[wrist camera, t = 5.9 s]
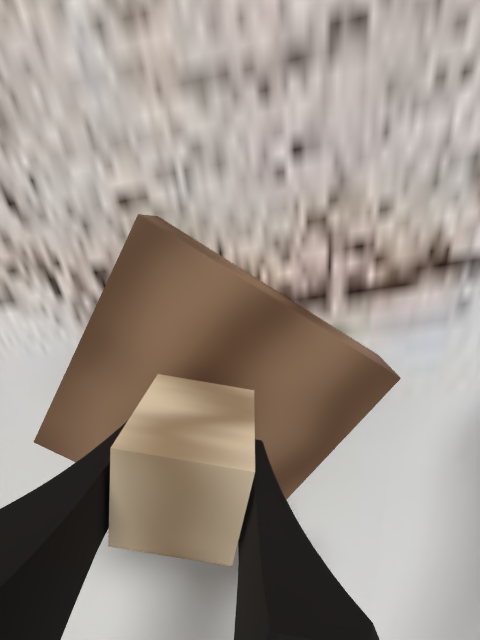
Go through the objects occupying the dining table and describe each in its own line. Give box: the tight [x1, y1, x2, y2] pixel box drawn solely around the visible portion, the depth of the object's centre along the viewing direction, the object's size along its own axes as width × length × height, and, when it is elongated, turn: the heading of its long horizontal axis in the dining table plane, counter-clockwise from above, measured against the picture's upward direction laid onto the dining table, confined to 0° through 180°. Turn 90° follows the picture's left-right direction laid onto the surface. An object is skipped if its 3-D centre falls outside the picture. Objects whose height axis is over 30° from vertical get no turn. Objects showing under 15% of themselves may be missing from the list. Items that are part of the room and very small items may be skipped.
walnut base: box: [34, 214, 401, 499], centre depth 16 cm, size 14×14×2 cm
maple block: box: [108, 374, 255, 566], centre depth 11 cm, size 4×4×4 cm
